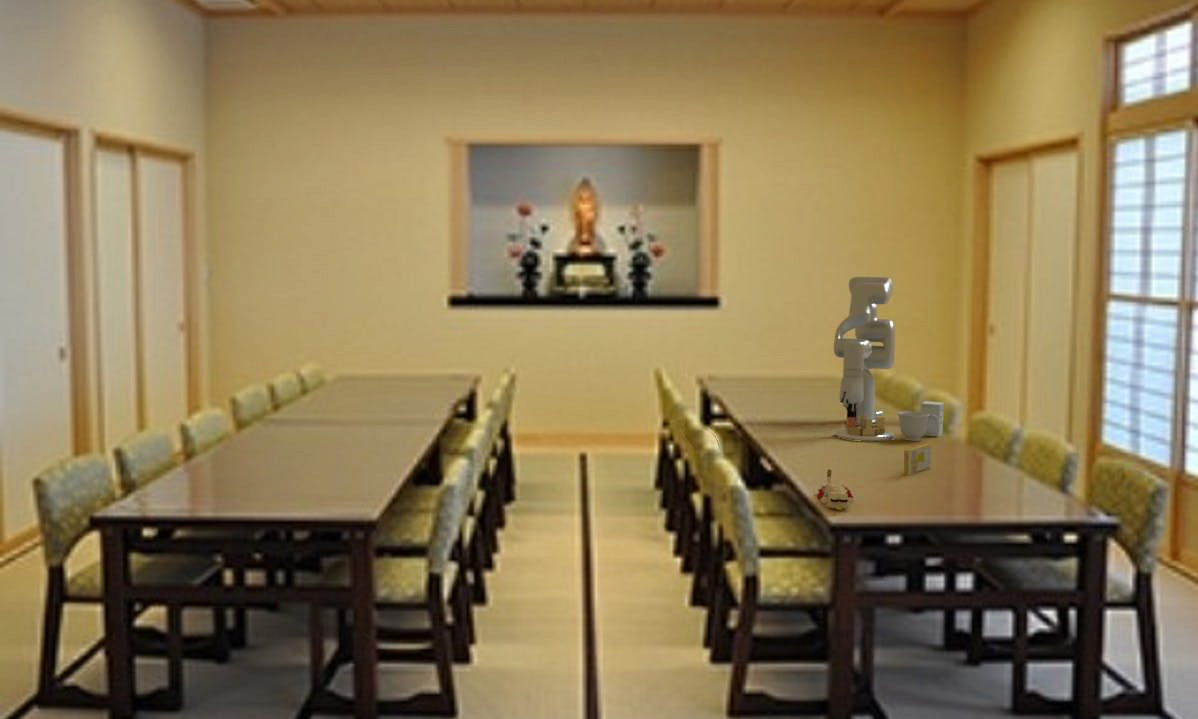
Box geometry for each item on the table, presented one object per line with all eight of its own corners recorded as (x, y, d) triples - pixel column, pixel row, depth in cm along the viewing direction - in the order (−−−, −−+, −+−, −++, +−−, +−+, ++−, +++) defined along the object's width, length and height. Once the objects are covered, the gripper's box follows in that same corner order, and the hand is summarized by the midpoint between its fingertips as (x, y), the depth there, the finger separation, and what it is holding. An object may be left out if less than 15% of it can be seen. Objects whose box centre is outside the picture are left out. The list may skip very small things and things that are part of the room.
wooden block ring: (843, 429, 482) (843, 414, 481) (879, 430, 482) (879, 414, 481) (850, 435, 468) (850, 419, 467) (887, 435, 468) (888, 420, 467)
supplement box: (919, 435, 481) (920, 403, 479) (923, 432, 487) (925, 400, 486) (938, 437, 477) (940, 404, 476) (943, 434, 484) (944, 402, 482)
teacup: (938, 443, 462) (939, 416, 461) (896, 441, 465) (897, 415, 464) (936, 438, 474) (937, 412, 473) (895, 436, 477) (896, 410, 476)
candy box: (924, 468, 413) (925, 443, 412) (930, 468, 412) (931, 444, 411) (902, 474, 401) (903, 449, 400) (908, 475, 399) (909, 450, 399)
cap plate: (865, 430, 490) (866, 420, 490) (906, 439, 471) (907, 428, 471) (823, 435, 478) (823, 424, 478) (863, 443, 460) (864, 432, 459)
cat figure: (811, 498, 370) (821, 509, 345) (811, 468, 369) (822, 477, 344) (844, 498, 369) (857, 510, 344) (845, 469, 369) (858, 478, 344)
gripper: (855, 371, 483) (854, 418, 485) (833, 373, 472) (832, 421, 474) (872, 372, 478) (870, 420, 480) (850, 375, 467) (848, 424, 469)
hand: (851, 421), depth 477 cm, fingers closed
